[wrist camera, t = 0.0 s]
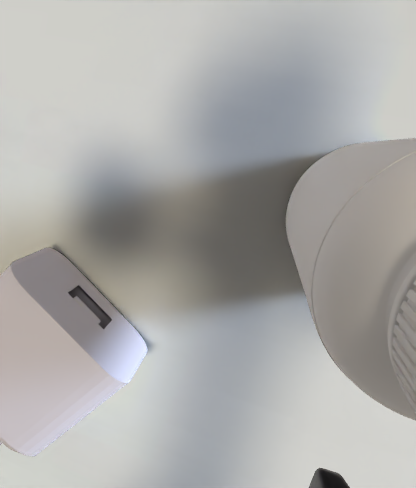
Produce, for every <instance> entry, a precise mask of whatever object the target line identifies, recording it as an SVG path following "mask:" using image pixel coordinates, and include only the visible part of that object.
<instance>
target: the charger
mask: <svg viewBox="0 0 416 488" xmlns="http://www.w3.org/2000/svg"><path fill="white" fill-rule="evenodd" d="M146 353H147V346H146V344H145V342H144V340H143V338H142V337H141V335H140V334H139V333H138V332H137V330H136V329H135V328H134V327H133V326H132V325H131V324H130V323H129V322H128V321H127V320H126V319H125V318H124V317H123V316H122V315H121V314H120V312H119V311H118V310H117V309H116V308H115V307H114V306H113V305H112V304H111V303H110V302H109V301H108V300H107V299H106V298H105V297H104V296H103V295H102V294H101V293H100V292H99V291H98V290H97V289H96V288H95V287H94V286H93V284H92V283H91V282H90V281H89V280H88V279H87V278H86V277H85V276H84V275H83V274H82V273H81V272H80V271H79V270H78V269H77V268H76V267H75V266H74V265H73V264H72V263H71V262H70V261H69V260H68V259H67V258H66V257H65V256H63V255H62V254H61V253H59V252H58V251H56V250H54V249H52V248H44V249H42V250H40V251H37V252H35V253H33V254H30V255H28V256H25V257H23V258H21V259H18V260H16V261H14V262H13V263H12V264H11V265H10V266H9V267H8V268H7V269H6V270H5V271H4V272H3V273H2V274H1V275H0V445H1V444H2V443H3V444H4V445H5V446H7V447H8V448H9V449H11V450H13V451H16V452H18V453H21V454H23V455H27V456H36V455H37V454H38V453H40V452H41V451H42V450H44V449H45V448H46V447H47V446H49V445H50V444H51V443H52V442H54V441H55V440H56V439H58V438H59V437H60V436H61V435H63V434H64V433H65V432H66V431H68V430H69V429H70V428H71V427H73V426H74V425H75V424H77V423H78V422H79V421H80V420H82V419H83V418H84V417H85V416H87V415H88V414H89V413H90V412H92V411H93V410H94V409H96V408H97V407H98V406H99V405H101V404H102V403H103V402H104V401H106V400H107V399H108V398H109V397H111V396H112V395H113V394H115V393H116V392H117V391H118V390H120V389H121V388H122V387H123V386H125V385H126V384H127V383H128V382H130V381H131V379H132V377H133V376H134V374H135V372H136V370H137V369H138V367H139V365H140V363H141V362H142V360H143V358H144V357H145V355H146Z"/></svg>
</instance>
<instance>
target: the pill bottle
mask: <svg viewBox="0 0 416 488" xmlns="http://www.w3.org/2000/svg"><path fill="white" fill-rule="evenodd" d="M286 232H287V237H288V241H289V244H290V247H291V251H292V254H293V257H294V260H295V263H296V266H297V270H298V273H299V276H300V279H301V282H302V286H303V289H304V292H305V295H306V298H307V302H308V305H309V308H310V311H311V314H312V318H313V321H314V324H315V326H316V329H317V332H318V334H319V336H320V339H321V341H322V343H323V345H324V347H325V348H326V350H327V352H328V354H329V355H330V357H331V358H332V360H333V361H334V362H335V364H336V365H337V366H338V367H339V369H340V370H341V371H342V372H343V373H344V374H345V375H346V376H347V377H348V378H349V379H350V380H351V381H352V382H353V383H354V384H355V385H356V386H357V387H359V388H360V389H361V390H362V391H363V392H365V393H366V394H367V395H369V396H370V397H371V398H373V399H374V400H376V401H377V402H379V403H380V404H382V405H384V406H385V407H387V408H389V409H391V410H393V411H395V412H397V413H399V414H401V415H403V416H405V417H408V418H411V419H413V420H416V138H408V139H397V140H386V141H375V142H364V143H356V144H352V145H348V146H344V147H342V148H339V149H337V150H334V151H332V152H330V153H328V154H327V155H325V156H323V157H322V158H320V159H319V160H318V161H316V162H315V163H314V164H313V165H312V166H310V167H309V168H308V169H307V171H306V172H305V173H304V174H303V175H302V176H301V178H300V179H299V181H298V182H297V184H296V186H295V187H294V189H293V191H292V194H291V196H290V199H289V203H288V207H287V212H286Z"/></svg>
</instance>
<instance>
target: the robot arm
mask: <svg viewBox="0 0 416 488" xmlns="http://www.w3.org/2000/svg"><path fill="white" fill-rule="evenodd" d="M309 488H350V487H349V486H348V484H347V483H346V482H345V480H344V479H343V477H342V476H341V475H340V474H338V473H336V472H333V471H330V470H326V469H323V468H319V469H317V470H316V471H315V473H314V476H313V478H312V481H311V483H310V486H309Z"/></svg>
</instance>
